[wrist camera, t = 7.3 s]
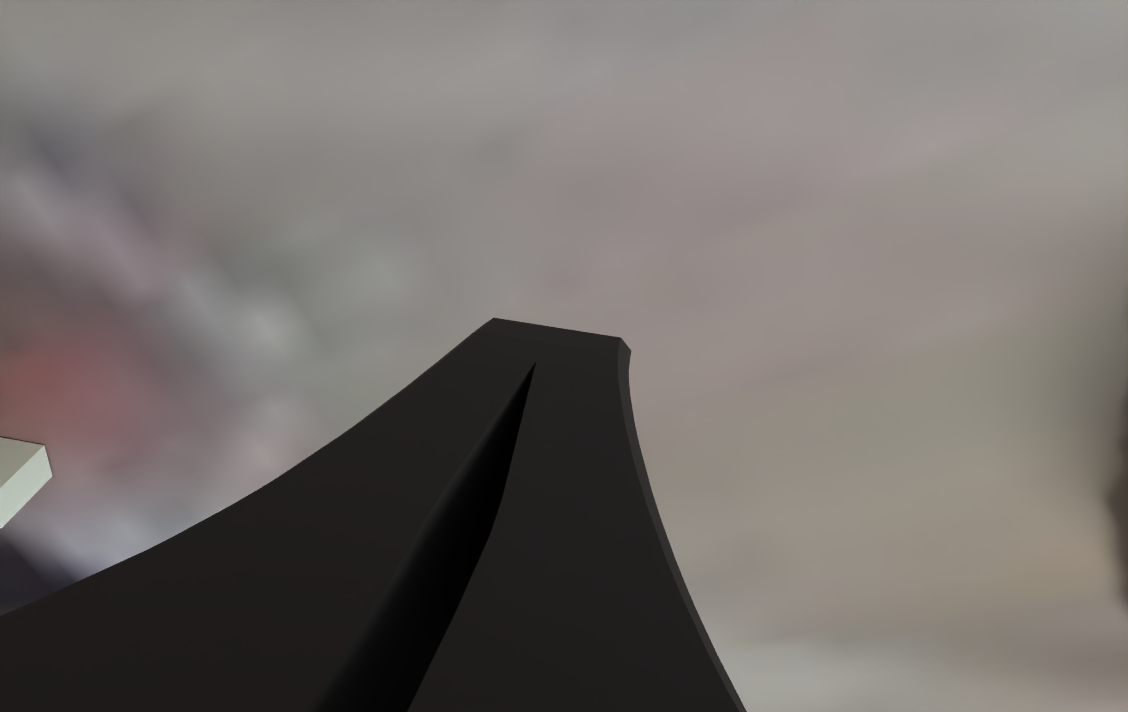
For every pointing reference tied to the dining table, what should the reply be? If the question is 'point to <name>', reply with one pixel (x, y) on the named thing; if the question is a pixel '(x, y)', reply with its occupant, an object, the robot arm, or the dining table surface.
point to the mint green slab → (20, 475)
